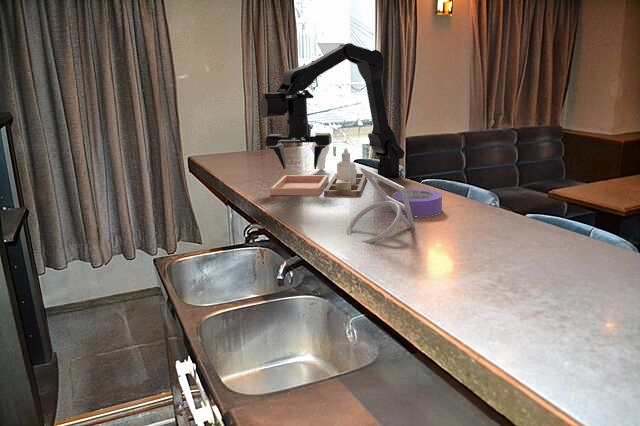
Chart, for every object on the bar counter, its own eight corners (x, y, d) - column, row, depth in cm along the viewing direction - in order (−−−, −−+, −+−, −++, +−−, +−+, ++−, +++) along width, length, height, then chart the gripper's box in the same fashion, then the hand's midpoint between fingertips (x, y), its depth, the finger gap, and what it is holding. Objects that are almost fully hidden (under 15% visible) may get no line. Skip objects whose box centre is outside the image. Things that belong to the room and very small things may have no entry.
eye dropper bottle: (344, 191, 152) (343, 150, 149) (336, 187, 157) (334, 148, 154) (357, 189, 154) (357, 149, 150) (349, 186, 159) (348, 146, 155)
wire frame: (351, 253, 119) (315, 203, 112) (394, 217, 121) (362, 165, 114) (391, 286, 104) (352, 231, 96) (440, 244, 105) (405, 186, 98)
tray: (328, 182, 164) (328, 175, 163) (319, 197, 147) (319, 188, 146) (284, 183, 166) (284, 175, 165) (270, 197, 149) (270, 188, 148)
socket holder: (366, 179, 167) (366, 173, 166) (360, 198, 144) (360, 191, 143) (335, 179, 168) (335, 173, 168) (324, 198, 145) (323, 191, 145)
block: (351, 193, 150) (351, 179, 149) (350, 196, 146) (349, 182, 145) (337, 193, 151) (337, 179, 150) (335, 196, 147) (335, 182, 146)
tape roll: (401, 223, 121) (402, 202, 119) (385, 210, 132) (385, 191, 130) (449, 218, 123) (450, 198, 121) (430, 206, 134) (430, 187, 132)
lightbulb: (330, 171, 181) (328, 139, 178) (312, 172, 181) (310, 140, 178) (330, 168, 186) (329, 137, 183) (312, 169, 187) (311, 138, 184)
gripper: (333, 111, 156) (335, 163, 161) (272, 113, 159) (275, 164, 164) (327, 115, 146) (329, 170, 150) (262, 117, 149) (266, 171, 153)
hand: (299, 168), depth 155 cm, fingers open, 9 cm apart
